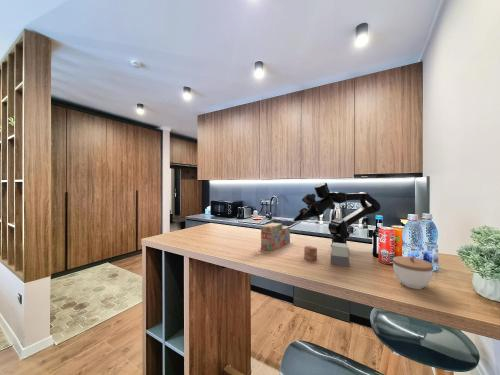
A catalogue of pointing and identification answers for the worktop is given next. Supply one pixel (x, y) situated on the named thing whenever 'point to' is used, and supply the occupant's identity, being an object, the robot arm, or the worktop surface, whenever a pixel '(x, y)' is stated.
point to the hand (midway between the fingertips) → (297, 219)
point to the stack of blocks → (274, 236)
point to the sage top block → (340, 249)
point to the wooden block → (310, 253)
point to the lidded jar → (412, 271)
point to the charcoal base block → (340, 260)
